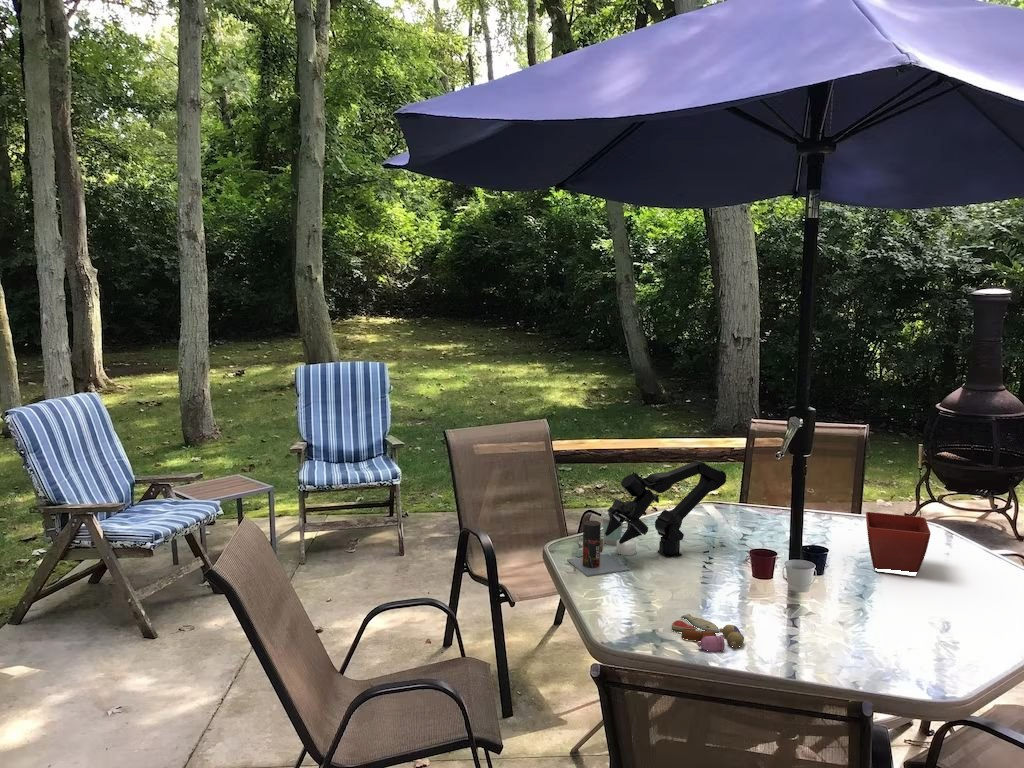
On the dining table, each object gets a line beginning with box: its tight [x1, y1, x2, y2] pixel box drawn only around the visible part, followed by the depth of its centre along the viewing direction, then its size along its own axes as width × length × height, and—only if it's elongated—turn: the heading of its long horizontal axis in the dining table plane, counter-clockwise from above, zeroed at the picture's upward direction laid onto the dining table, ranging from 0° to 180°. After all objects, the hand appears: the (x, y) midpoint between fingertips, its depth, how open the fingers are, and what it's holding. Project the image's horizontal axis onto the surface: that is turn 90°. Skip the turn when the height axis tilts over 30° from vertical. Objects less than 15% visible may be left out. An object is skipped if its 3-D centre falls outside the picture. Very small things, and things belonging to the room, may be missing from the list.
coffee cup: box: [600, 508, 624, 546], centre depth 303 cm, size 8×8×12 cm
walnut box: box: [600, 537, 604, 553], centre depth 295 cm, size 5×5×5 cm
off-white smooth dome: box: [616, 539, 637, 556], centre depth 294 cm, size 7×7×4 cm
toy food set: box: [671, 613, 745, 652], centre depth 225 cm, size 26×16×4 cm, turn 41°
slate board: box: [567, 553, 630, 578], centre depth 280 cm, size 16×16×1 cm
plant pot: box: [865, 511, 931, 573], centre depth 278 cm, size 19×19×17 cm
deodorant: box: [582, 519, 601, 568], centre depth 278 cm, size 6×6×15 cm
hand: (612, 539), depth 282 cm, fingers open, 9 cm apart
